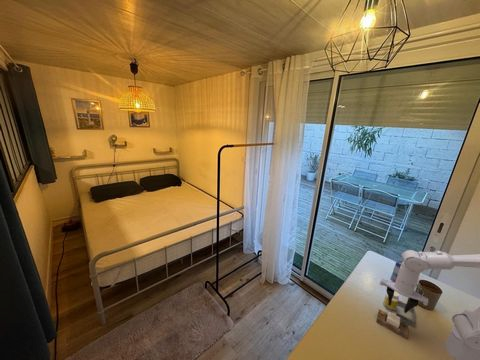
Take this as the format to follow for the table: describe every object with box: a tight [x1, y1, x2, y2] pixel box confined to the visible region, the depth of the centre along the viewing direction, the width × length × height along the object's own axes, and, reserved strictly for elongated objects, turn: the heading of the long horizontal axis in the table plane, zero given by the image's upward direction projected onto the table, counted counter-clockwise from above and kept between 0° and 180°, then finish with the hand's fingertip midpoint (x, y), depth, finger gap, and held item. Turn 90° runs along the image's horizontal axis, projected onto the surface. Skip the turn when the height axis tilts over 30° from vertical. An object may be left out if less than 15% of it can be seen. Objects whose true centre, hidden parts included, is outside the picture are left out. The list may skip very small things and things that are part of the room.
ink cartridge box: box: [389, 260, 403, 282], centre depth 104 cm, size 10×6×14 cm, turn 109°
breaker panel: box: [376, 308, 409, 340], centre depth 82 cm, size 10×6×3 cm, turn 49°
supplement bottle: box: [382, 291, 400, 313], centre depth 89 cm, size 5×5×8 cm
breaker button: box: [385, 311, 400, 328], centre depth 81 cm, size 4×4×2 cm
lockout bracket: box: [395, 300, 416, 328], centre depth 87 cm, size 6×9×2 cm, turn 139°
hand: (397, 307), depth 80 cm, fingers open, 4 cm apart
